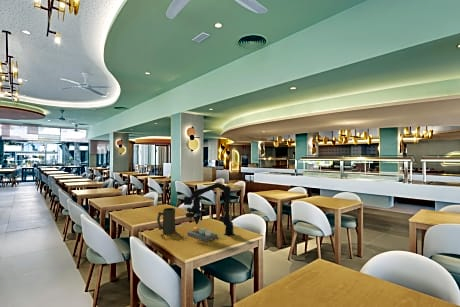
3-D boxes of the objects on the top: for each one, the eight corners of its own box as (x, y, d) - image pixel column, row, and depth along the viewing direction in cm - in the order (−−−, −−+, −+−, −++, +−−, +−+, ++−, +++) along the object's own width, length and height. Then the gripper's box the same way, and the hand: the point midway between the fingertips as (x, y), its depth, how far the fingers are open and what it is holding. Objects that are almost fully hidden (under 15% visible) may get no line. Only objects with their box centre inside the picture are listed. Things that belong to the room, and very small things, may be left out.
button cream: (208, 235, 197) (208, 229, 197) (212, 236, 194) (212, 231, 194) (203, 236, 194) (203, 231, 194) (207, 237, 190) (207, 232, 190)
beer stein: (172, 229, 218) (171, 206, 217) (178, 232, 210) (177, 208, 209) (156, 234, 207) (154, 210, 206) (162, 237, 199) (160, 212, 199)
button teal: (202, 233, 202) (202, 228, 202) (206, 234, 199) (206, 229, 199) (197, 234, 198) (197, 229, 198) (201, 235, 195) (201, 230, 195)
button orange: (197, 231, 207) (197, 226, 207) (200, 232, 203) (200, 227, 203) (192, 232, 203) (192, 227, 203) (196, 234, 200) (196, 229, 200)
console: (199, 231, 210) (199, 228, 210) (217, 237, 195) (217, 234, 195) (187, 235, 202) (187, 232, 202) (205, 241, 187) (205, 238, 187)
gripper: (199, 202, 216) (199, 220, 216) (181, 205, 202) (181, 224, 202) (207, 203, 208) (207, 222, 208) (189, 207, 194) (189, 227, 194)
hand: (196, 224), depth 203 cm, fingers closed
